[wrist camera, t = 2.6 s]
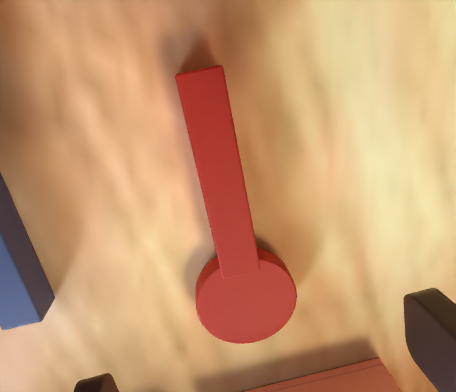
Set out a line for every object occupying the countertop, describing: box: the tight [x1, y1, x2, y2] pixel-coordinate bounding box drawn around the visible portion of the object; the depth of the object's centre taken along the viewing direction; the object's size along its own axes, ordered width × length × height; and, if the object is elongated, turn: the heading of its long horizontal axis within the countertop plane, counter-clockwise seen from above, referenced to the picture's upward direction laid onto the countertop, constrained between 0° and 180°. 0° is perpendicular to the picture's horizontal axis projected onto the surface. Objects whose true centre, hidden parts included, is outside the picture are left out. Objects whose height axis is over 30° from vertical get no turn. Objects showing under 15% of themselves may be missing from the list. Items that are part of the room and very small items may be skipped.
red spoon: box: [175, 65, 297, 344], centre depth 16 cm, size 14×5×2 cm, turn 11°
